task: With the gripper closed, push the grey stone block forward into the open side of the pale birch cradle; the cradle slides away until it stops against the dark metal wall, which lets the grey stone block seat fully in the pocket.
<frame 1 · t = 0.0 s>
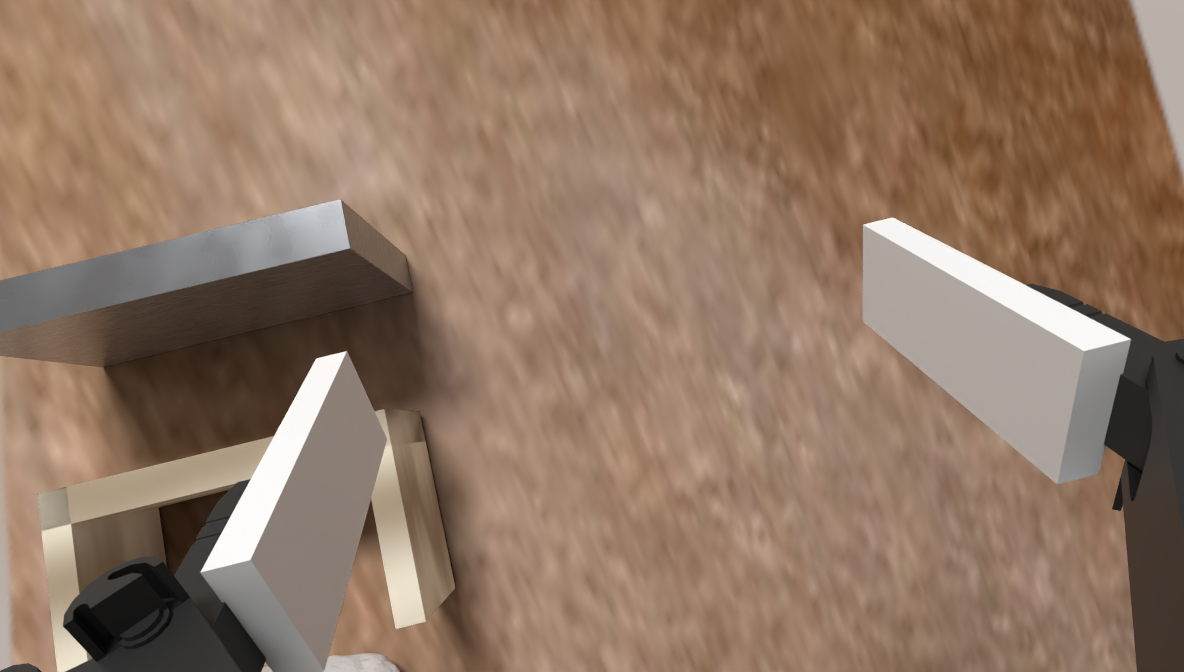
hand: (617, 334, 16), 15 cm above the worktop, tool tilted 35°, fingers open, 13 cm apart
wall: (255, 310, 32), on the worktop
cradle: (261, 544, 27), point 3 cm above the worktop, slide at 0.0 cm
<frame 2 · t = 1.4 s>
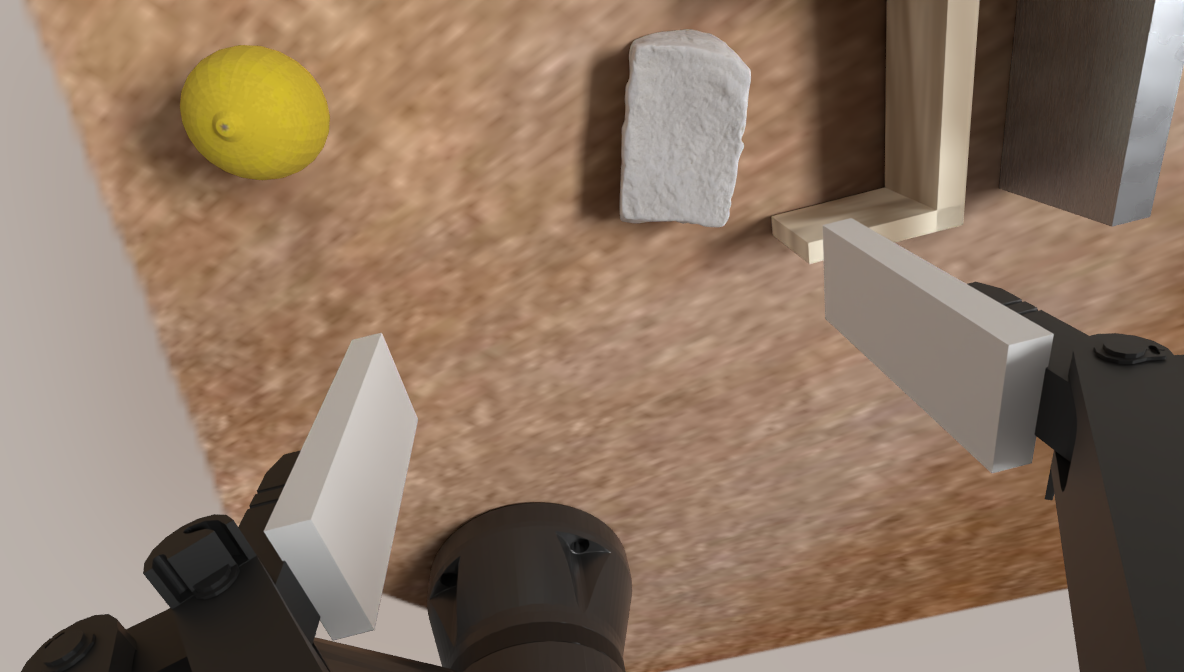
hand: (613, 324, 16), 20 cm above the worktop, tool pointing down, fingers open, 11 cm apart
lemon: (288, 103, 31), on the worktop
wall: (1029, 44, 35), on the worktop
grey stone block: (671, 127, 34), on the worktop
cradle: (861, 98, 32), point 3 cm above the worktop, slide at 0.0 cm
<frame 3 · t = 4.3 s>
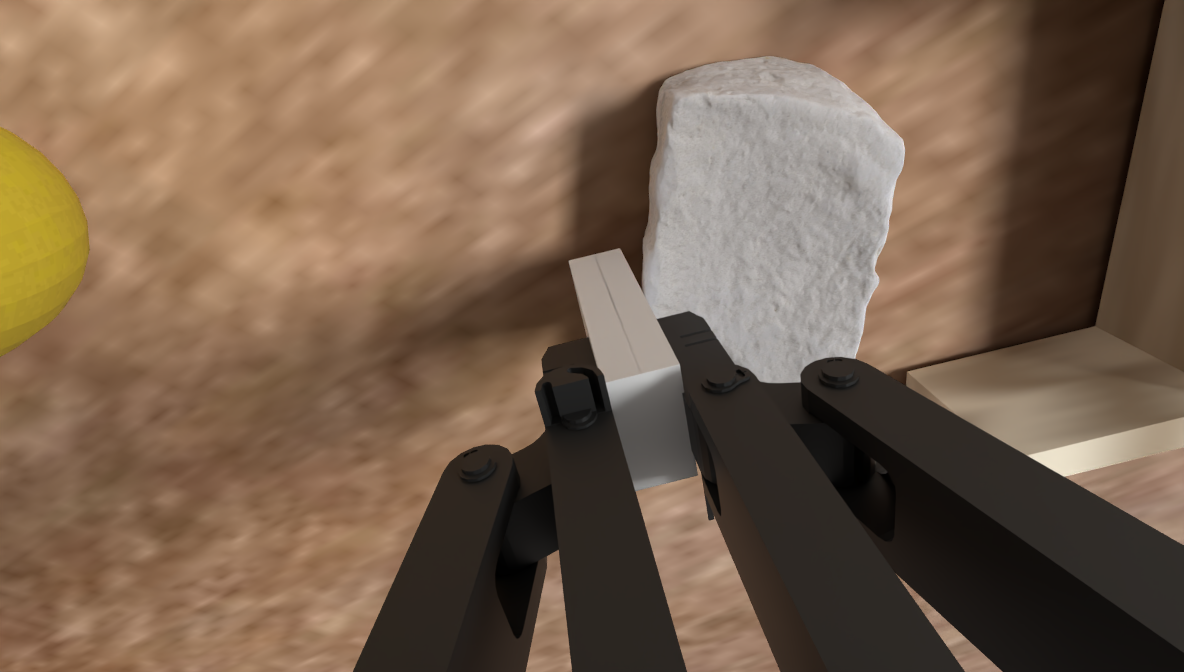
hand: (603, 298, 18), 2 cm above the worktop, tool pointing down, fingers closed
lemon: (36, 191, 16), on the worktop
grey stone block: (728, 227, 19), on the worktop, touching gripper
cradle: (1117, 199, 17), point 3 cm above the worktop, slide at 0.0 cm
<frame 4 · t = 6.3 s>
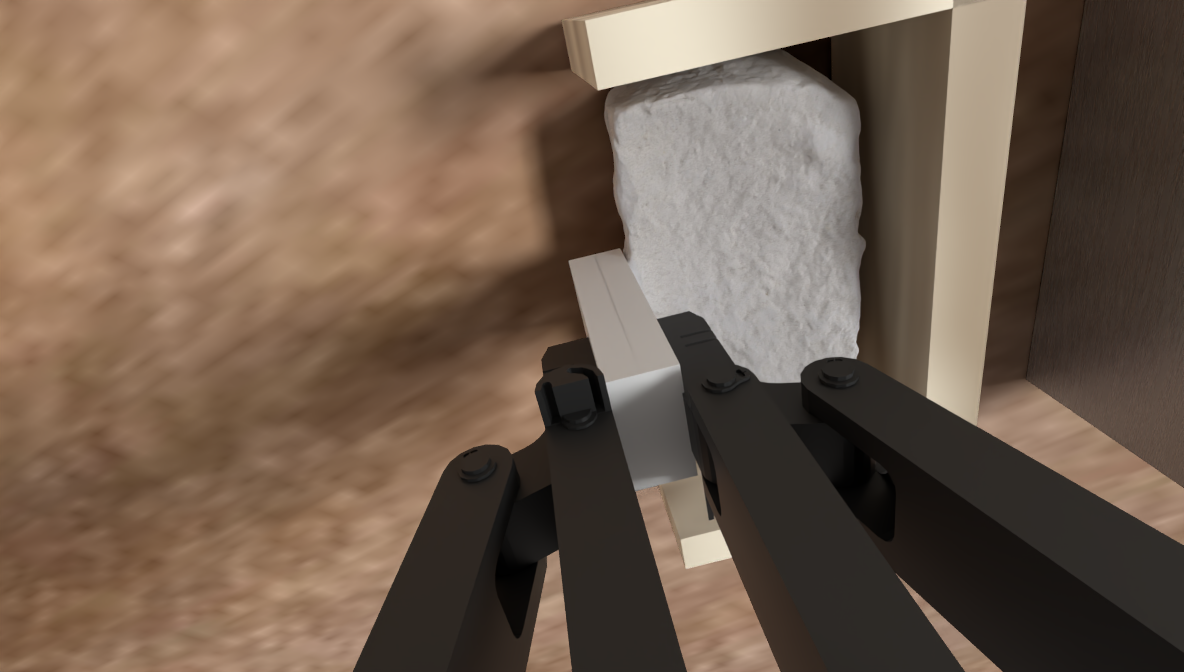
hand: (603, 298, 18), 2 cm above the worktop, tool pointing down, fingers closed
wall: (1089, 161, 20), on the worktop
grey stone block: (711, 215, 19), on the worktop
cradle: (779, 277, 17), point 3 cm above the worktop, slide at 0.0 cm
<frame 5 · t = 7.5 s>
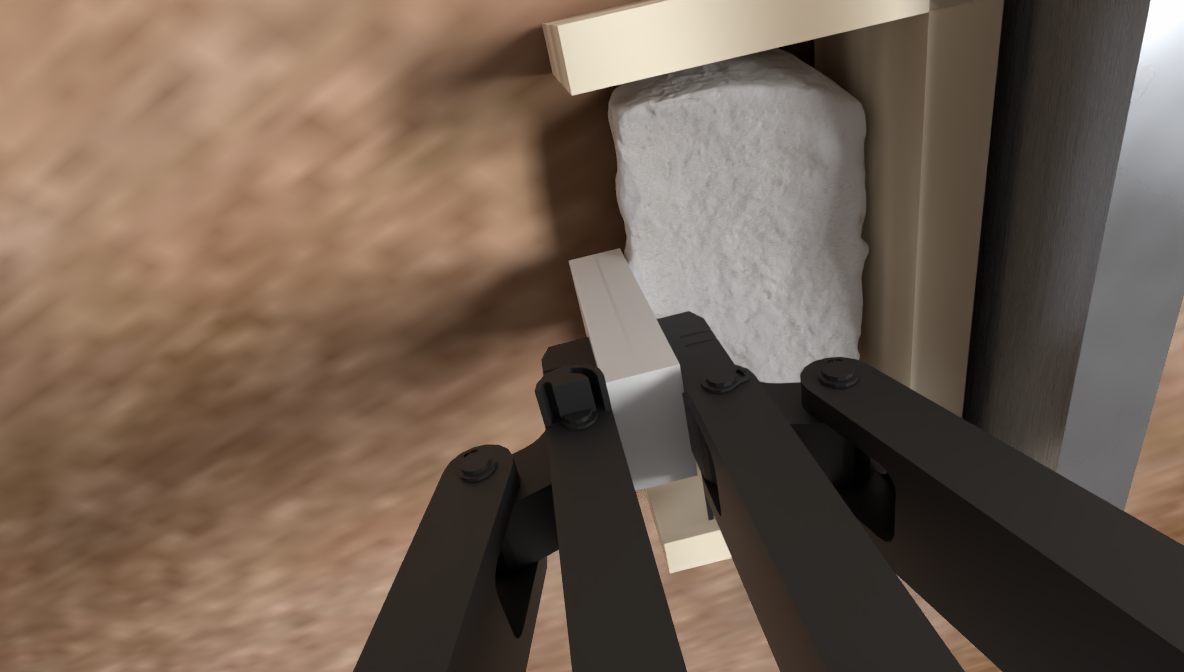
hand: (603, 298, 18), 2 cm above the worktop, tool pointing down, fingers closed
wall: (904, 205, 19), on the worktop
grey stone block: (713, 218, 19), on the worktop, touching cradle, gripper
cradle: (762, 280, 17), point 3 cm above the worktop, slide at 5.6 cm, touching grey stone block
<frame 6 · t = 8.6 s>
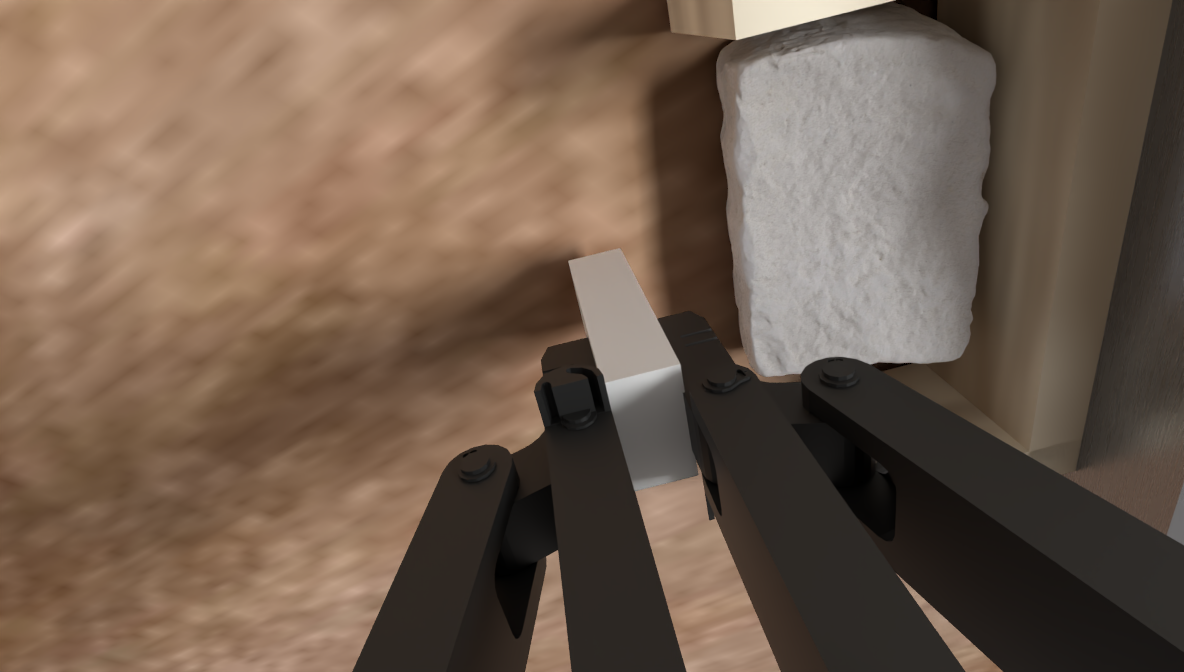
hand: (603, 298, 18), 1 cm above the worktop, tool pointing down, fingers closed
wall: (1002, 170, 19), on the worktop
grey stone block: (809, 183, 19), on the worktop
cradle: (885, 243, 16), point 3 cm above the worktop, slide at 6.0 cm, touching wall
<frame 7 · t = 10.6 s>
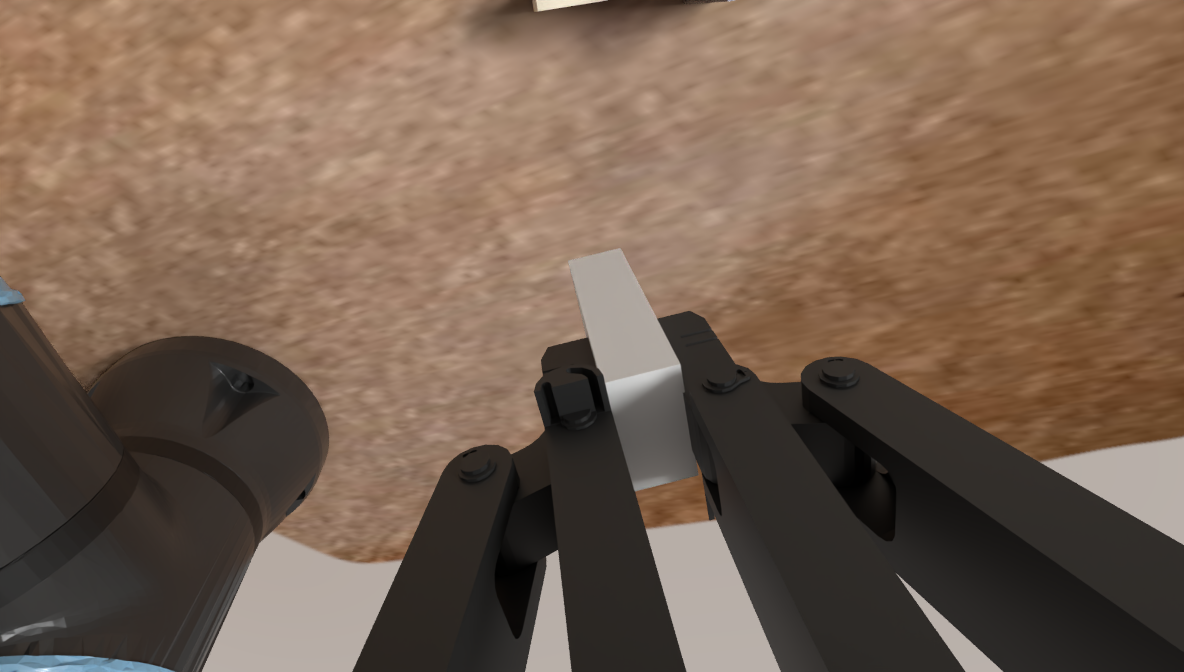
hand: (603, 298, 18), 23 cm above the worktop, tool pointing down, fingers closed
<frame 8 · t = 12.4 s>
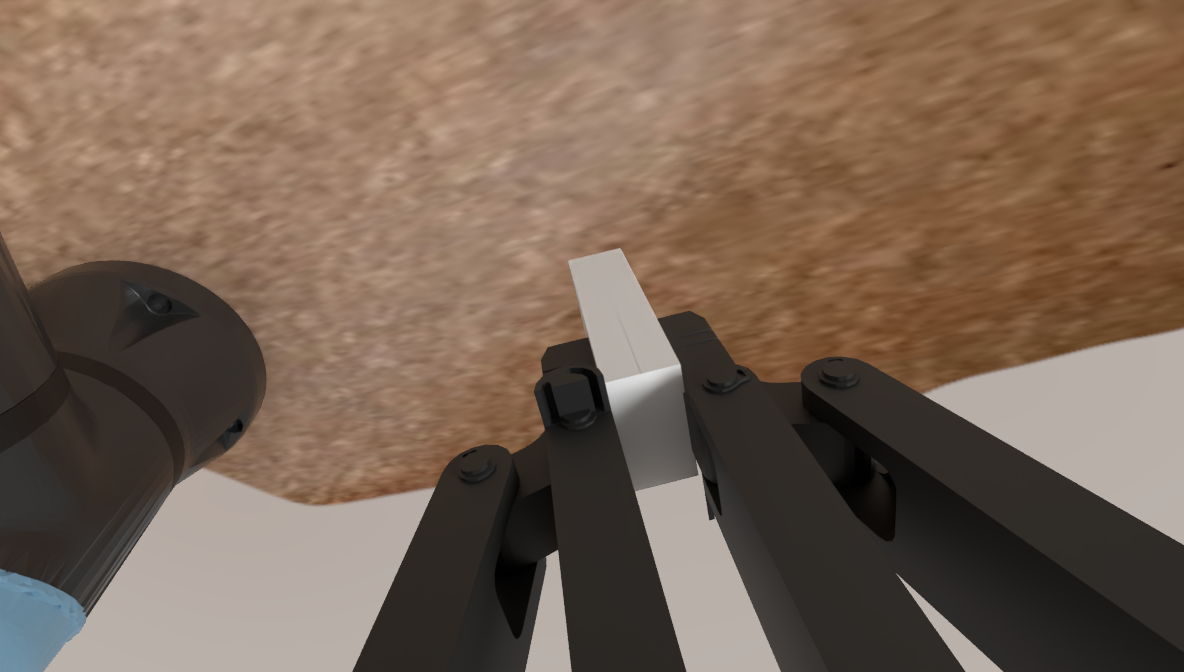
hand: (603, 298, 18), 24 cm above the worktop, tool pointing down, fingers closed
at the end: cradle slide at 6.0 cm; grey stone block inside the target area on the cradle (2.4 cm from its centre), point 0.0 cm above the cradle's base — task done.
